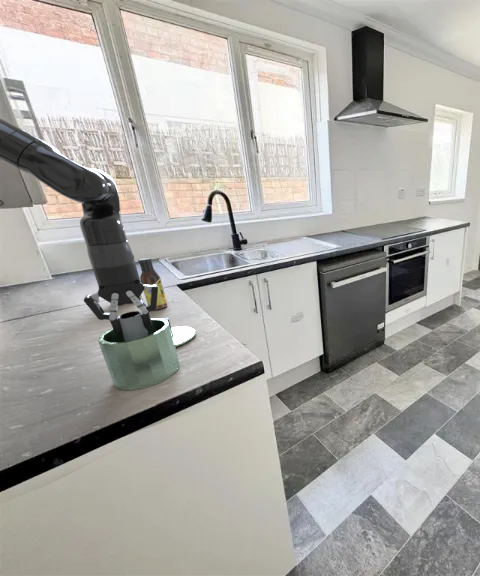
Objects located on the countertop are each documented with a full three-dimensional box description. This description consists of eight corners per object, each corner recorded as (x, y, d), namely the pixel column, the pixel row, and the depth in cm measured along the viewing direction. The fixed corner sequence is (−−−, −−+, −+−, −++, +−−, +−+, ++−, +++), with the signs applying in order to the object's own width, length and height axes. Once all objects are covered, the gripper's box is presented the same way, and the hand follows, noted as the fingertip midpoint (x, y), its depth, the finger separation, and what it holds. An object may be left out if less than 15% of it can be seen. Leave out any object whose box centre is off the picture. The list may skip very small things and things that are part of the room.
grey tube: (129, 358, 74) (116, 320, 71) (131, 350, 78) (118, 313, 75) (152, 353, 77) (140, 315, 73) (152, 345, 80) (142, 309, 77)
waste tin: (112, 398, 71) (94, 350, 67) (117, 370, 81) (102, 327, 77) (181, 376, 78) (169, 332, 74) (177, 354, 89) (167, 314, 84)
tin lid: (138, 358, 86) (131, 335, 84) (139, 338, 98) (133, 317, 95) (198, 342, 95) (193, 321, 92) (193, 325, 106) (188, 306, 104)
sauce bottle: (169, 307, 122) (156, 258, 115) (150, 312, 118) (135, 261, 111) (166, 303, 126) (153, 256, 120) (147, 307, 122) (133, 259, 116)
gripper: (66, 271, 63) (93, 344, 69) (152, 260, 71) (170, 327, 76) (73, 263, 69) (98, 332, 74) (152, 254, 77) (168, 317, 82)
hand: (134, 329), depth 75 cm, fingers closed on grey tube, 4 cm apart
